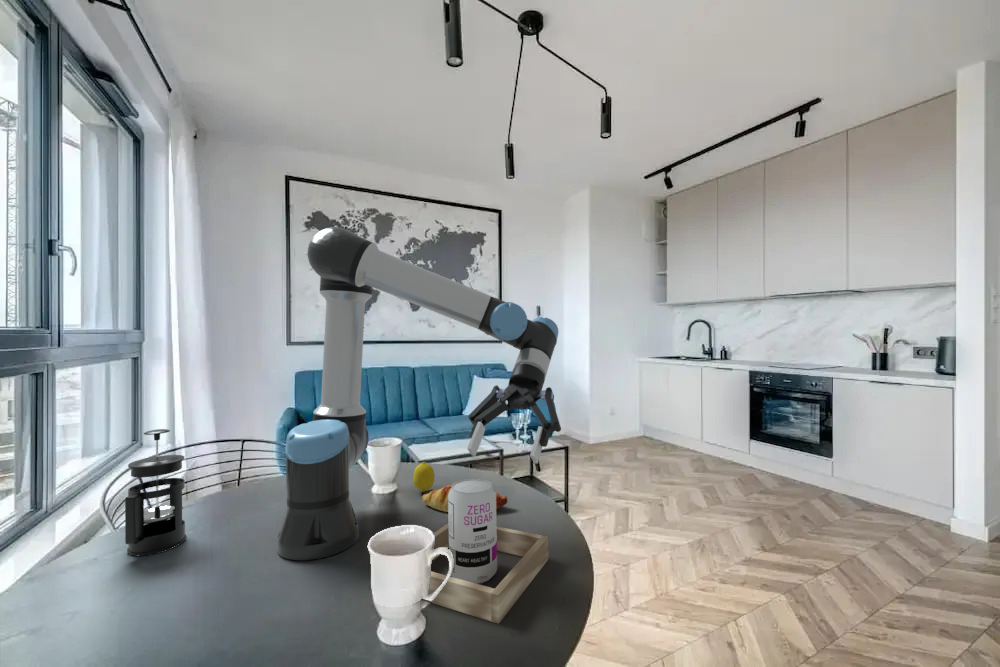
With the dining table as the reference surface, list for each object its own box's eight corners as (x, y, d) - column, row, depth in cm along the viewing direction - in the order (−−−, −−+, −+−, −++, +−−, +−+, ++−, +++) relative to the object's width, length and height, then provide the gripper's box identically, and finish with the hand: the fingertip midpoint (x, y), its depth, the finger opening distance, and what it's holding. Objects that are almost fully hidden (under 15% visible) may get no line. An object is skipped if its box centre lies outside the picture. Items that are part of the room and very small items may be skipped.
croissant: (418, 524, 103) (411, 500, 100) (430, 491, 112) (424, 468, 108) (506, 527, 100) (502, 503, 96) (511, 493, 108) (508, 469, 105)
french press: (156, 533, 93) (156, 425, 93) (199, 532, 93) (198, 424, 93) (105, 561, 81) (104, 437, 81) (154, 560, 81) (153, 436, 81)
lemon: (430, 496, 112) (429, 465, 112) (410, 495, 113) (409, 464, 113) (437, 489, 117) (437, 459, 117) (418, 488, 118) (417, 458, 118)
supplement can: (471, 556, 80) (470, 475, 81) (506, 571, 75) (505, 483, 75) (439, 575, 74) (437, 487, 74) (474, 592, 69) (473, 497, 69)
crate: (388, 589, 70) (388, 564, 70) (455, 537, 88) (455, 518, 88) (498, 623, 61) (498, 595, 61) (548, 558, 79) (548, 536, 79)
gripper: (586, 385, 95) (567, 473, 82) (486, 382, 106) (454, 459, 93) (579, 362, 91) (557, 451, 77) (475, 361, 102) (440, 439, 88)
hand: (501, 456), depth 85 cm, fingers open, 13 cm apart
